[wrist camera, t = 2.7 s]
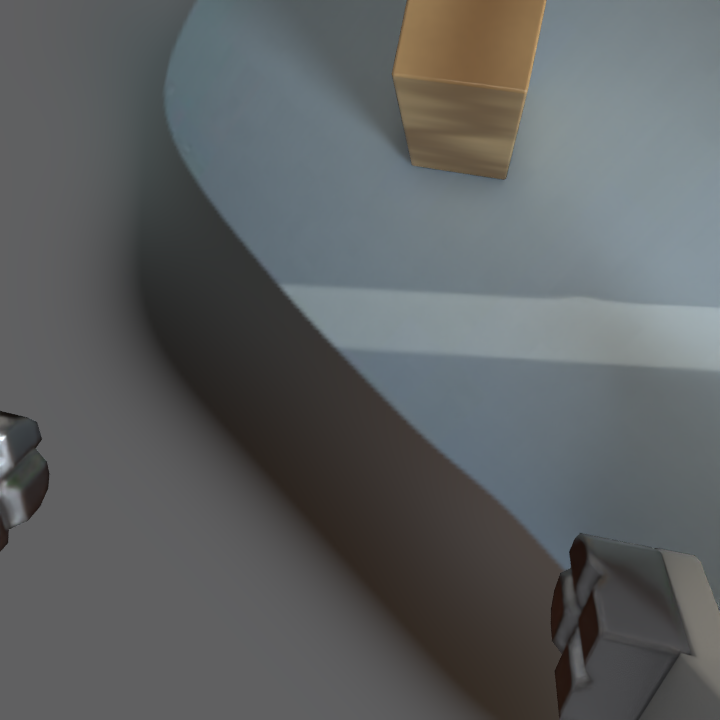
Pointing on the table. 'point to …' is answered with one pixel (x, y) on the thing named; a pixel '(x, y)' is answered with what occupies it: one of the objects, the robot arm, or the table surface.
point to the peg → (465, 80)
